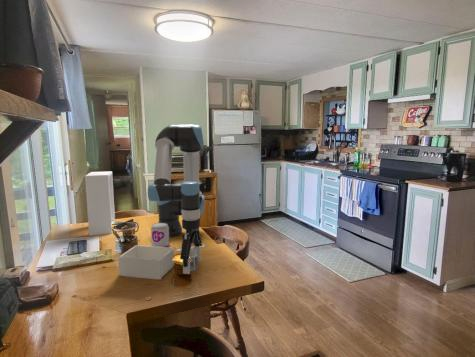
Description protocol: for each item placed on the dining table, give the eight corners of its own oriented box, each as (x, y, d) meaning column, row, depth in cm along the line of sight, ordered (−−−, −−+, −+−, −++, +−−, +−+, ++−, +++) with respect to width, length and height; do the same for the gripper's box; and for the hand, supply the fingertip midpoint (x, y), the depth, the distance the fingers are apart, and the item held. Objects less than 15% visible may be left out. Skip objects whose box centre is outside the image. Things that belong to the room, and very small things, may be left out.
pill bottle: (194, 265, 133) (194, 247, 132) (199, 269, 129) (199, 250, 128) (184, 268, 130) (184, 249, 129) (189, 272, 127) (189, 252, 125)
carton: (136, 261, 137) (135, 245, 136) (175, 265, 134) (174, 247, 133) (118, 275, 123) (117, 257, 122) (161, 279, 120) (160, 260, 119)
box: (95, 225, 196) (91, 171, 191) (115, 223, 200) (112, 171, 195) (89, 235, 176) (84, 175, 171) (111, 233, 179) (108, 175, 174)
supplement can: (165, 259, 140) (164, 227, 139) (149, 257, 142) (147, 226, 140) (172, 252, 148) (171, 223, 146) (156, 251, 150) (155, 222, 148)
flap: (109, 255, 115) (109, 256, 115) (149, 258, 112) (149, 259, 112) (119, 256, 122) (119, 257, 122) (157, 259, 119) (157, 260, 119)
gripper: (192, 211, 140) (193, 255, 142) (170, 226, 115) (172, 279, 118) (207, 212, 138) (208, 256, 141) (189, 227, 114) (190, 280, 117)
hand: (192, 266), depth 130 cm, fingers open, 13 cm apart
